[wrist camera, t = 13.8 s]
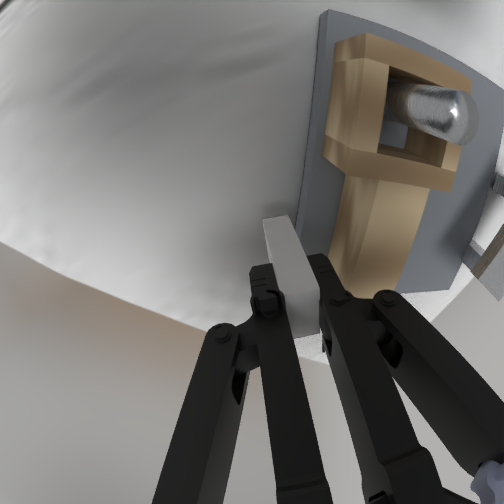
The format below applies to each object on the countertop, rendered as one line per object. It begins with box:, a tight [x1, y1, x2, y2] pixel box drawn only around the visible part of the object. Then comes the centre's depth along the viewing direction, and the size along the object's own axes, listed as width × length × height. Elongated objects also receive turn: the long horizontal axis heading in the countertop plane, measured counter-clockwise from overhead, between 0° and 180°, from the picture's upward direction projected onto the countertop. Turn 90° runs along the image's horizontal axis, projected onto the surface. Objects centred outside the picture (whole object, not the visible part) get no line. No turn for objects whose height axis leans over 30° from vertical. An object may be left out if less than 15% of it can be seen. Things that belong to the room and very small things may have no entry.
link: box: [322, 33, 472, 299], centre depth 15 cm, size 17×7×4 cm, turn 176°
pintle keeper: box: [383, 81, 504, 301], centre depth 15 cm, size 13×19×8 cm
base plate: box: [295, 9, 504, 294], centre depth 18 cm, size 20×17×2 cm
